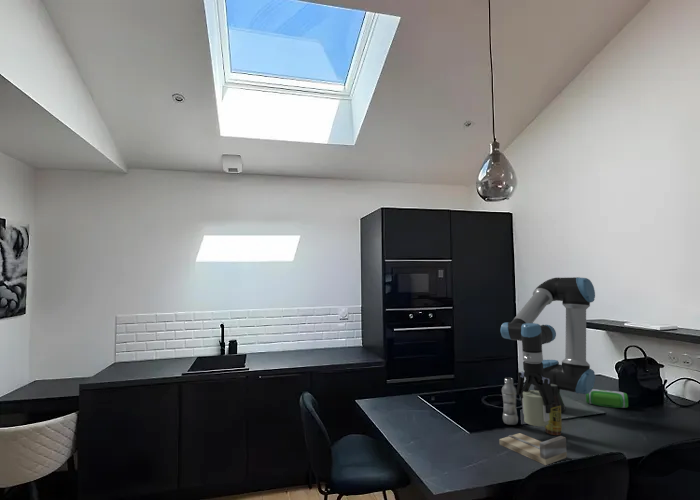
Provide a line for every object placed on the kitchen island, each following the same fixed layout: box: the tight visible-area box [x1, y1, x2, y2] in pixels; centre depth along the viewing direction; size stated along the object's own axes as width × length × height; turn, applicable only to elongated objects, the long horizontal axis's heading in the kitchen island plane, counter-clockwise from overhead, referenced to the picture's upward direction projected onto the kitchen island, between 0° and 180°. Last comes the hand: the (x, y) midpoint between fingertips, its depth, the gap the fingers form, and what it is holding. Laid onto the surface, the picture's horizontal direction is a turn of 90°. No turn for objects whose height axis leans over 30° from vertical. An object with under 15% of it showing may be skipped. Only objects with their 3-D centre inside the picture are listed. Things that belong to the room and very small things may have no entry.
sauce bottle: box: [544, 384, 563, 436], centre depth 168 cm, size 7×6×20 cm
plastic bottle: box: [501, 377, 519, 426], centre depth 178 cm, size 6×7×20 cm
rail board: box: [498, 432, 568, 466], centre depth 152 cm, size 20×12×7 cm, turn 29°
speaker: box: [585, 388, 629, 409], centre depth 200 cm, size 18×7×8 cm, turn 61°
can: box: [523, 389, 549, 427], centre depth 164 cm, size 9×9×12 cm
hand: (535, 416), depth 164 cm, fingers closed on can, 9 cm apart
